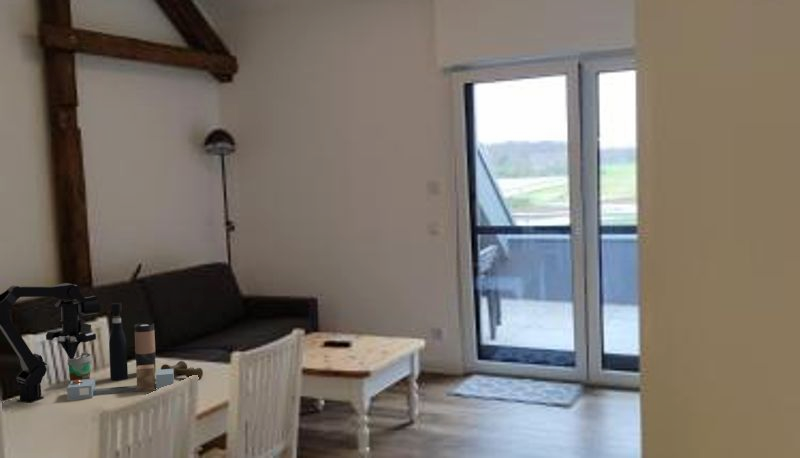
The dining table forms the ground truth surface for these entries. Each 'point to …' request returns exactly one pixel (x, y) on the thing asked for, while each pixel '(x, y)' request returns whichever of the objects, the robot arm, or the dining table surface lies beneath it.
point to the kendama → (184, 369)
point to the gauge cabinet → (81, 389)
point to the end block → (164, 377)
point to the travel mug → (145, 344)
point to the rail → (116, 390)
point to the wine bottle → (117, 347)
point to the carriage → (145, 377)
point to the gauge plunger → (76, 382)
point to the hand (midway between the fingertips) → (71, 358)
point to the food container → (80, 367)
